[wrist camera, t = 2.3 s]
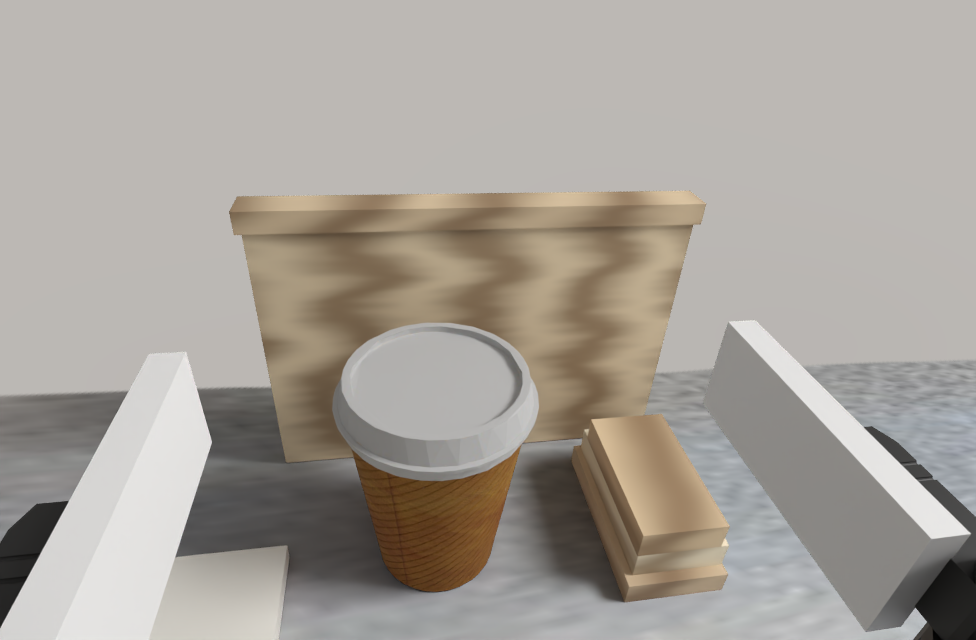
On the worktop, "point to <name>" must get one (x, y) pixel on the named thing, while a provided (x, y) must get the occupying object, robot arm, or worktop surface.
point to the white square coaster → (224, 596)
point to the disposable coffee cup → (435, 444)
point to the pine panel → (467, 292)
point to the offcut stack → (650, 509)
